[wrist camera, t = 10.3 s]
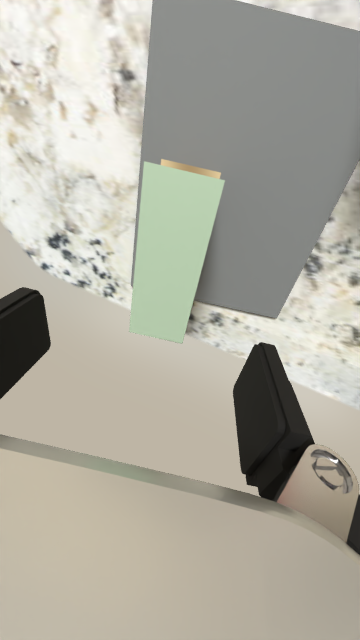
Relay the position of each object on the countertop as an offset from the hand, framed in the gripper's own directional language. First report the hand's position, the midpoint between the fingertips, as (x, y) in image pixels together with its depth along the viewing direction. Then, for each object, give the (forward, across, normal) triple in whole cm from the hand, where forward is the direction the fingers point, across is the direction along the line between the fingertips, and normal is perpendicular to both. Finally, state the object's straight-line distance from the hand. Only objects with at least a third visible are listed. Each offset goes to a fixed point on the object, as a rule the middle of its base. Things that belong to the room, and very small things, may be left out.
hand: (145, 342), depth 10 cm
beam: (+14, +1, 0) cm, 14 cm away
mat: (+22, -4, -5) cm, 23 cm away
